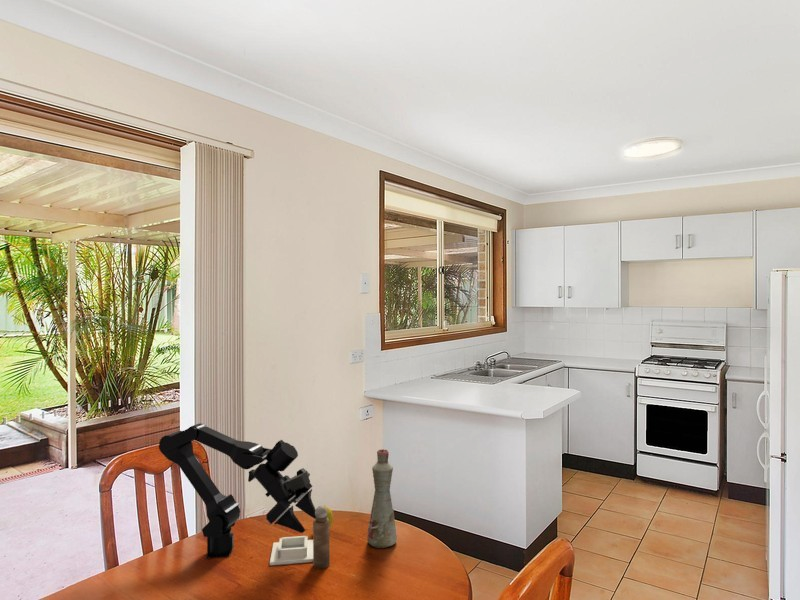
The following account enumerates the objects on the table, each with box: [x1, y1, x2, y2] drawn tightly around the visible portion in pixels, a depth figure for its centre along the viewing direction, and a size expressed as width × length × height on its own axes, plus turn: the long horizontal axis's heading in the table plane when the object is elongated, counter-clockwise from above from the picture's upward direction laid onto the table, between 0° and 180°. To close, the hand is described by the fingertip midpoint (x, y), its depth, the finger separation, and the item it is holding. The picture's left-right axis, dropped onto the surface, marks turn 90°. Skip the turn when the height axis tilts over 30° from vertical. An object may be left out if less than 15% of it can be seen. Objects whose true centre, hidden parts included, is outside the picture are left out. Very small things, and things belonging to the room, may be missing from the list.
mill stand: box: [269, 535, 313, 566], centre depth 149 cm, size 12×12×3 cm
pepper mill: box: [312, 505, 331, 570], centre depth 143 cm, size 4×4×16 cm
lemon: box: [323, 505, 334, 529], centre depth 164 cm, size 6×6×8 cm
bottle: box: [366, 449, 398, 549], centre depth 155 cm, size 9×9×28 cm
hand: (310, 524), depth 143 cm, fingers open, 9 cm apart
